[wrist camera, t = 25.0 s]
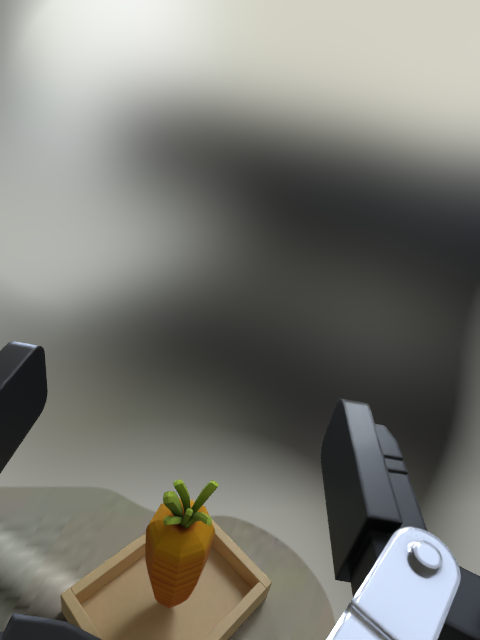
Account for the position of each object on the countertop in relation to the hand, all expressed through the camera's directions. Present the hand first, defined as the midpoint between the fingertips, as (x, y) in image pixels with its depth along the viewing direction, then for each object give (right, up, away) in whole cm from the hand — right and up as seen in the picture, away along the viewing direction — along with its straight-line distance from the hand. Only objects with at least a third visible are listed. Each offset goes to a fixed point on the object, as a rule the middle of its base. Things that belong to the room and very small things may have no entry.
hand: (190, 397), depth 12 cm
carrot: (-5, -22, +24) cm, 33 cm away
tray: (-5, -22, +25) cm, 34 cm away
